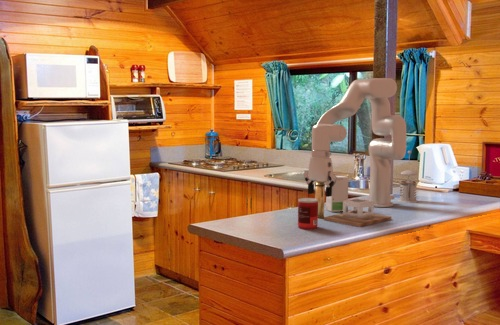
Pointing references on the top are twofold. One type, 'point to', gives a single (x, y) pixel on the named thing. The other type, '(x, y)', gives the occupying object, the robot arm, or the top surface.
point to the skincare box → (338, 194)
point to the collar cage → (358, 208)
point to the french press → (408, 187)
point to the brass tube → (320, 197)
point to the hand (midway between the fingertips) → (319, 194)
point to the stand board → (356, 222)
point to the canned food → (307, 213)
